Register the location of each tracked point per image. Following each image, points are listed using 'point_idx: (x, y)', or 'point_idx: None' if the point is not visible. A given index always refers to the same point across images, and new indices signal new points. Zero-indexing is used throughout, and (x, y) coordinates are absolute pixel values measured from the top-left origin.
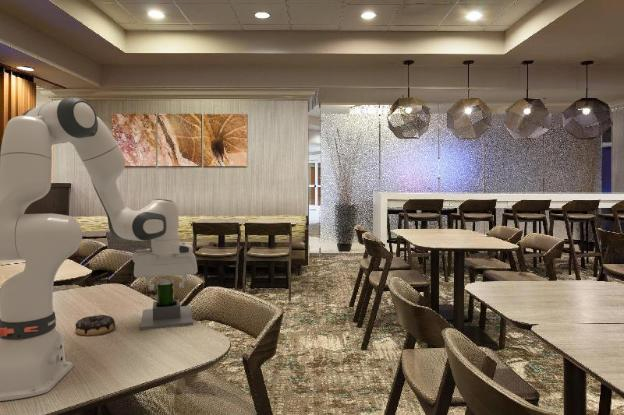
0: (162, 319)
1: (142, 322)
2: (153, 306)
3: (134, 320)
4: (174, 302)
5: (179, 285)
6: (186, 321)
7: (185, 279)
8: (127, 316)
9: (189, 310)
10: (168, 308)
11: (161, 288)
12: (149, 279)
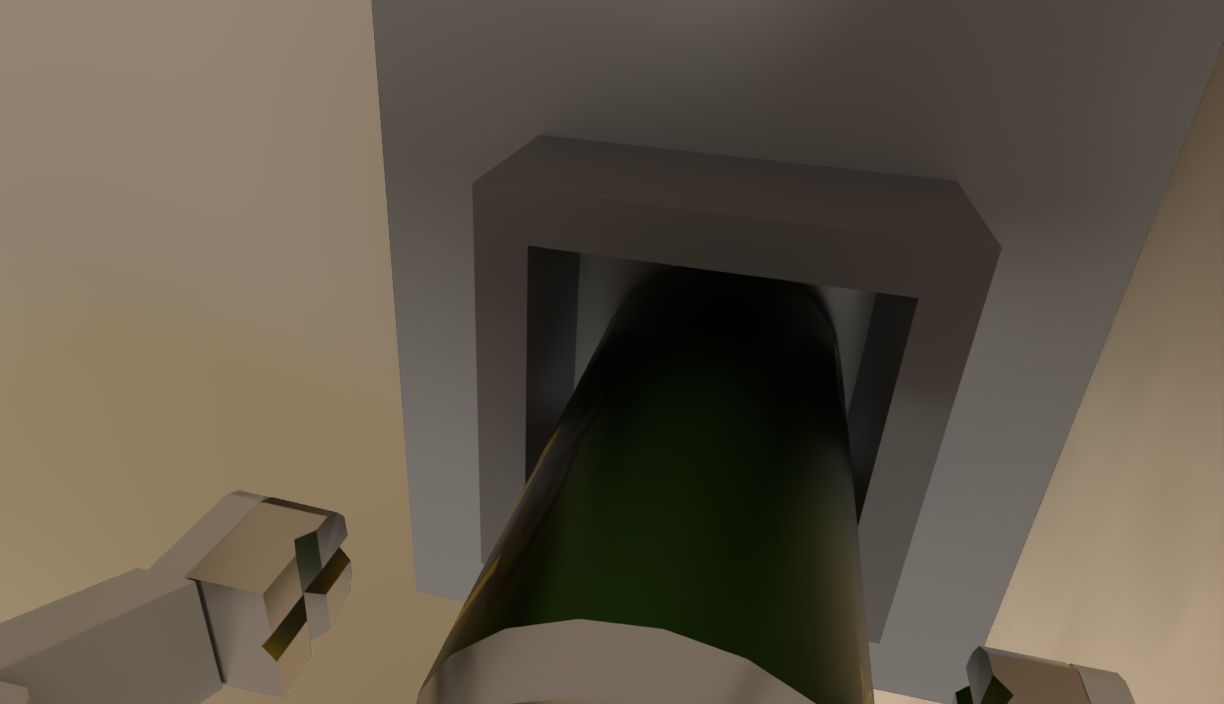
0: (807, 166)
1: (1154, 137)
2: (952, 369)
3: (1161, 434)
4: None
5: (288, 553)
6: None
7: (2, 632)
8: (1187, 631)
9: (422, 425)
10: (690, 202)
11: (780, 588)
12: None
